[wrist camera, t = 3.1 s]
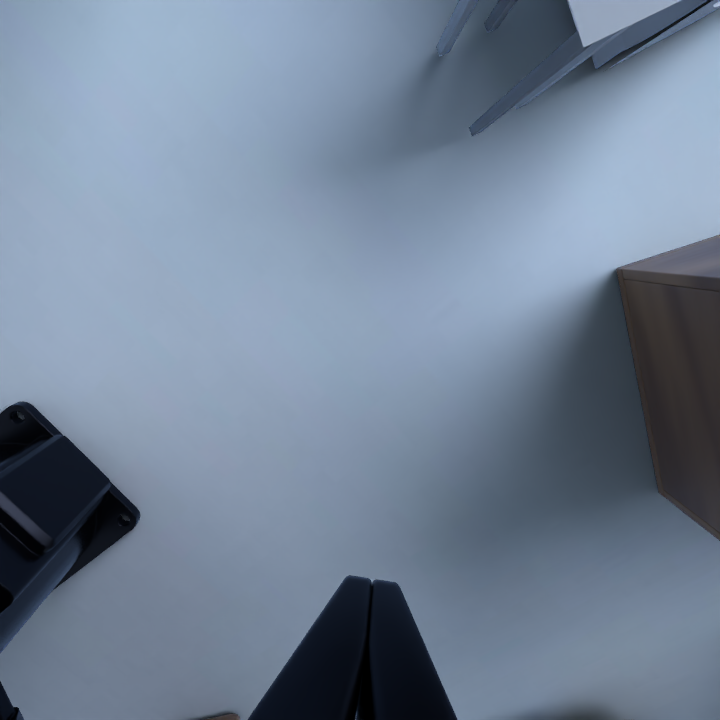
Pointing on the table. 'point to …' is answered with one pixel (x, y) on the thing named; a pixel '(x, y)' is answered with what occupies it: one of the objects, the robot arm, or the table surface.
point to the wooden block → (226, 717)
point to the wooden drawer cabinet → (679, 371)
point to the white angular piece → (580, 39)
